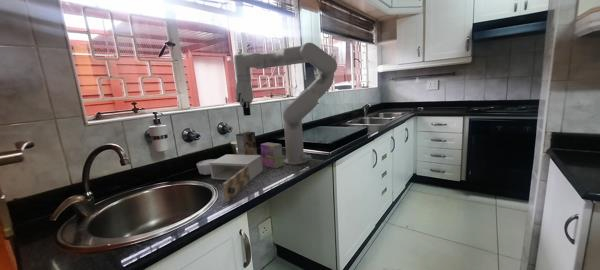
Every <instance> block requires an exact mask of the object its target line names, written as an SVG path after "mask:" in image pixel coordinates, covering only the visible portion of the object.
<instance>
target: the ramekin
mask: <svg viewBox="0 0 600 270" xmlns="http://www.w3.org/2000/svg"><path fill="white" fill-rule="evenodd" d="M216 159H217V158H213V159H206V160H205V159H204V160H200V161H199V162H197V163H196V167H197V169H198V173H199V174H200V175H202V174H203V175H204V176H207V175H211V170H210V162H212V161H214V160H216Z"/></svg>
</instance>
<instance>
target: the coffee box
mask: <svg viewBox="0 0 600 270" xmlns="http://www.w3.org/2000/svg"><path fill="white" fill-rule="evenodd" d="M235 138H236V148H237V155H258V149H257V148H258V147H257V140H256V132H255V131H245V132H240V133H236V134H235Z"/></svg>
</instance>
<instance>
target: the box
mask: <svg viewBox="0 0 600 270" xmlns="http://www.w3.org/2000/svg"><path fill="white" fill-rule="evenodd" d="M260 151H261V156H262V166H263V167H268V168H273V169H278V168H280V167H283V166H284V159H283V147H282V144H281V143H275V142H269V141H268V142H264V143H260Z"/></svg>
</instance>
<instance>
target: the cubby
mask: <svg viewBox="0 0 600 270" xmlns="http://www.w3.org/2000/svg"><path fill="white" fill-rule="evenodd" d="M215 159H216V160H214V161H212V162H210V170H211V174H210V175H211V176H210V177H211V179H212V180H225V181H227V180H228V179H230V178H231V177H232V176H234V175H235V174H236V173H237V172H239V171H240V170H241V169H243V168H244V167H245V166H248V167H249V176H250V181H252V180H253V179H255V178H256V177H257V176H258V175H259V174H261V173H262V172H263V171H264V169H263V167H264V165H263V161H262V154H257V155H238V154H229V153H228V154H227V153H226V154H224V155H223V156H220V157H219V158H215Z"/></svg>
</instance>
